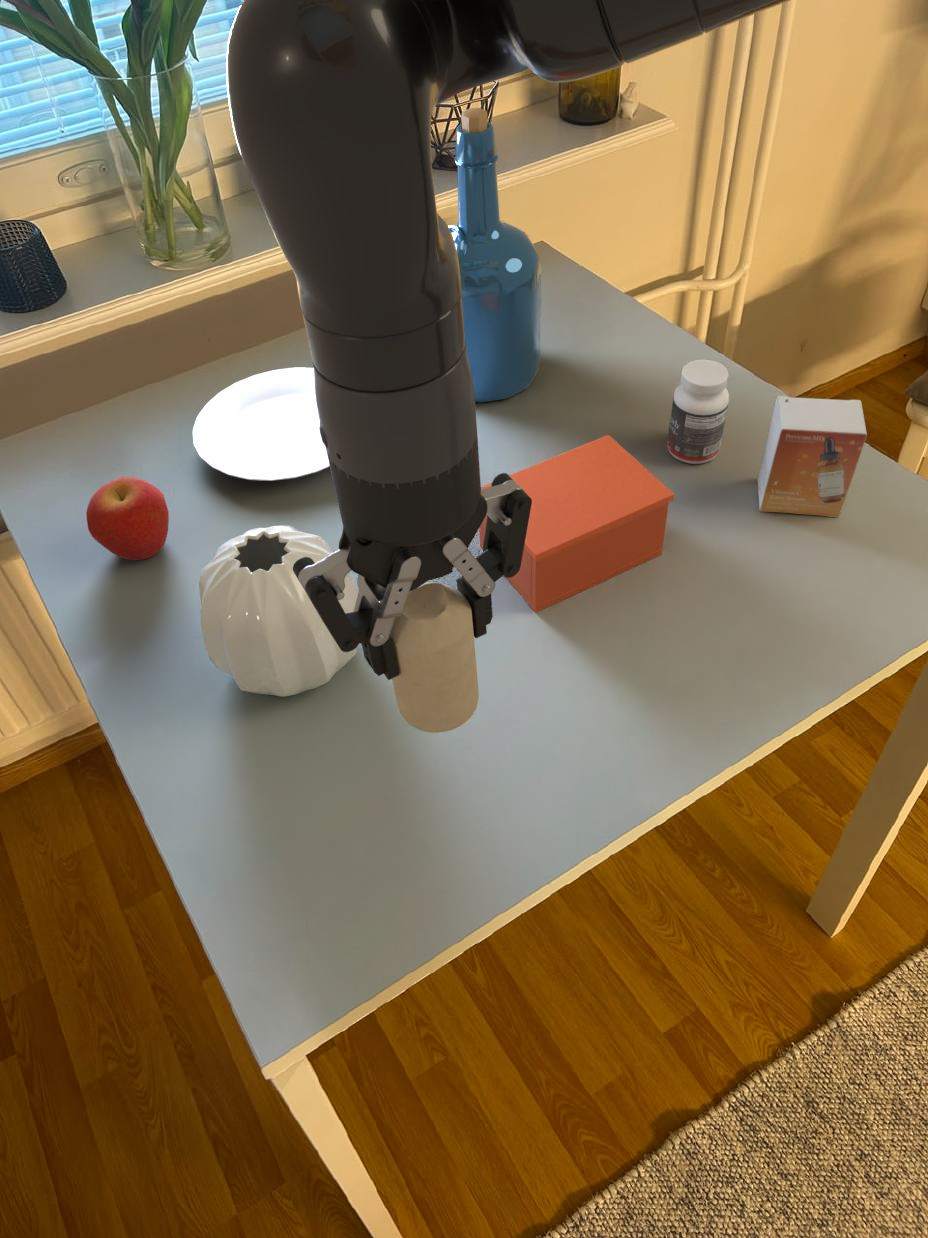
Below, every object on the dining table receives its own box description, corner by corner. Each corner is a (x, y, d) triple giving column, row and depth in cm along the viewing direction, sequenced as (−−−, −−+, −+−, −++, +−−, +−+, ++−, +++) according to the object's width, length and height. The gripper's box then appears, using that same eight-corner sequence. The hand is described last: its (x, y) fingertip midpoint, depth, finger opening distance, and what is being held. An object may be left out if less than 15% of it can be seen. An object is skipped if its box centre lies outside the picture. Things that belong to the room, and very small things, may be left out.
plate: (412, 444, 105) (410, 428, 104) (244, 522, 98) (239, 506, 97) (324, 363, 117) (321, 347, 116) (169, 427, 110) (163, 411, 109)
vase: (223, 608, 90) (185, 504, 80) (366, 593, 91) (346, 488, 81) (210, 724, 81) (165, 623, 71) (370, 708, 81) (347, 605, 71)
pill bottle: (666, 431, 104) (676, 354, 97) (718, 434, 104) (732, 356, 96) (666, 464, 101) (677, 387, 93) (720, 467, 100) (735, 389, 93)
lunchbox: (600, 494, 98) (603, 442, 93) (661, 554, 92) (669, 502, 87) (479, 546, 94) (476, 495, 89) (535, 613, 88) (535, 562, 83)
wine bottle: (511, 333, 119) (506, 76, 97) (559, 386, 111) (566, 119, 89) (412, 362, 116) (383, 104, 94) (454, 419, 108) (433, 152, 86)
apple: (95, 575, 94) (66, 518, 88) (114, 522, 100) (88, 465, 94) (171, 572, 94) (147, 514, 88) (186, 519, 99) (164, 461, 93)
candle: (439, 654, 65) (425, 552, 58) (496, 697, 62) (489, 595, 55) (380, 702, 63) (358, 601, 55) (437, 748, 60) (421, 649, 52)
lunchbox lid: (608, 440, 93) (608, 434, 93) (673, 500, 87) (674, 493, 86) (476, 494, 89) (476, 488, 88) (535, 561, 83) (535, 555, 82)
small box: (758, 513, 95) (778, 428, 87) (756, 477, 99) (775, 393, 91) (840, 518, 94) (869, 434, 86) (835, 482, 97) (862, 398, 90)
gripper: (294, 528, 41) (353, 741, 54) (565, 416, 46) (560, 639, 58) (236, 440, 46) (302, 656, 59) (487, 346, 50) (498, 567, 63)
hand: (431, 647), depth 58 cm, fingers closed on candle, 5 cm apart
